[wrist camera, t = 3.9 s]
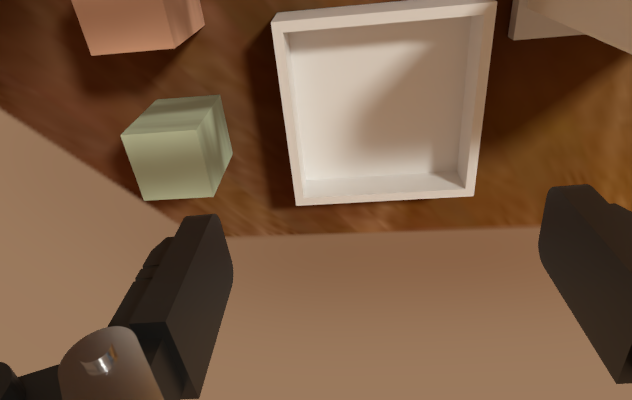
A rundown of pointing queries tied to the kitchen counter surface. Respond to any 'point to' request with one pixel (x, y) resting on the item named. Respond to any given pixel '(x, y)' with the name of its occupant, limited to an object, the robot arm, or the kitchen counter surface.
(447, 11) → the tray
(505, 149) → the kitchen counter surface
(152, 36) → the terracotta block
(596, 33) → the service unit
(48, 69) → the kitchen counter surface
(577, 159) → the kitchen counter surface
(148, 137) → the sage block
